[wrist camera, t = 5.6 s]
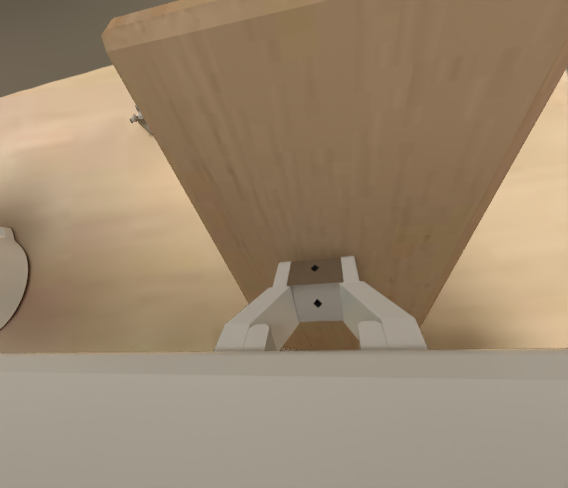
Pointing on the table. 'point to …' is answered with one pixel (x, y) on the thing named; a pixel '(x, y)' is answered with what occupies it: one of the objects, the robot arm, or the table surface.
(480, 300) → the table surface
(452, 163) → the wooden block
